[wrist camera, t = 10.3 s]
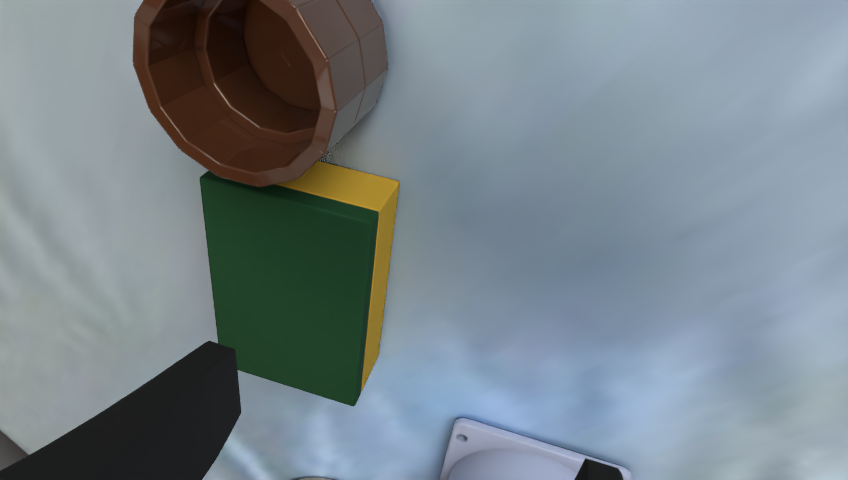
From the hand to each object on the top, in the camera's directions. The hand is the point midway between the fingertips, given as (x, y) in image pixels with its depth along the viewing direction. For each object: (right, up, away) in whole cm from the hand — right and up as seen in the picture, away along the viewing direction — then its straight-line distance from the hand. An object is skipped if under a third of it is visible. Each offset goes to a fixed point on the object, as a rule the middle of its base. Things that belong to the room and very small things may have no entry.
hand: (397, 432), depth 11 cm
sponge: (-4, +3, +11) cm, 12 cm away
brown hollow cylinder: (-3, +10, +7) cm, 13 cm away
